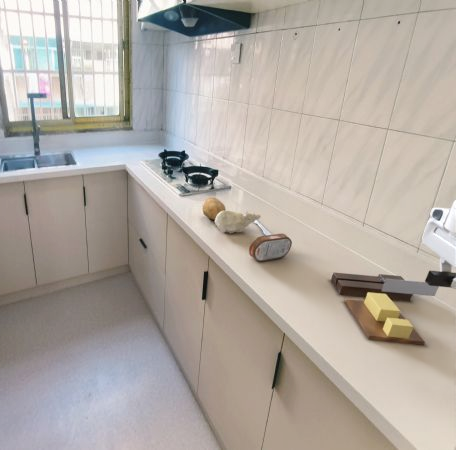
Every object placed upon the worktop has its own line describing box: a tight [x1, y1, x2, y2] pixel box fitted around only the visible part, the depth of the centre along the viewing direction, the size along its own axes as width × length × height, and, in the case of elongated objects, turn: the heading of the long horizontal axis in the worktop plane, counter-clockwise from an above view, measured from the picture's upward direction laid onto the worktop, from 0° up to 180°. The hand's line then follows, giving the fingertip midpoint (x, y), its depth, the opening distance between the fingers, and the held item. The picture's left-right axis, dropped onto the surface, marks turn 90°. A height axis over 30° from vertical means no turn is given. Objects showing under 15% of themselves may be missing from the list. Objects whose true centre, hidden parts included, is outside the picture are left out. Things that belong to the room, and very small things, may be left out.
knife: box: [382, 270, 456, 297], centre depth 74 cm, size 16×2×6 cm, turn 83°
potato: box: [201, 196, 227, 221], centre depth 139 cm, size 10×14×8 cm
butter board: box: [344, 299, 426, 346], centre depth 83 cm, size 12×14×1 cm
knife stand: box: [330, 271, 414, 302], centre depth 95 cm, size 18×7×4 cm, turn 83°
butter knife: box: [247, 211, 273, 236], centre depth 137 cm, size 1×24×3 cm
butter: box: [364, 292, 401, 322], centre depth 85 cm, size 4×7×4 cm, turn 173°
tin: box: [248, 233, 293, 262], centre depth 109 cm, size 15×3×8 cm, turn 110°
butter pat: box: [383, 318, 414, 339], centre depth 78 cm, size 4×2×4 cm, turn 82°
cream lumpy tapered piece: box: [214, 210, 262, 235], centre depth 129 cm, size 15×7×15 cm
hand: (448, 282), depth 73 cm, fingers closed on knife, 2 cm apart
